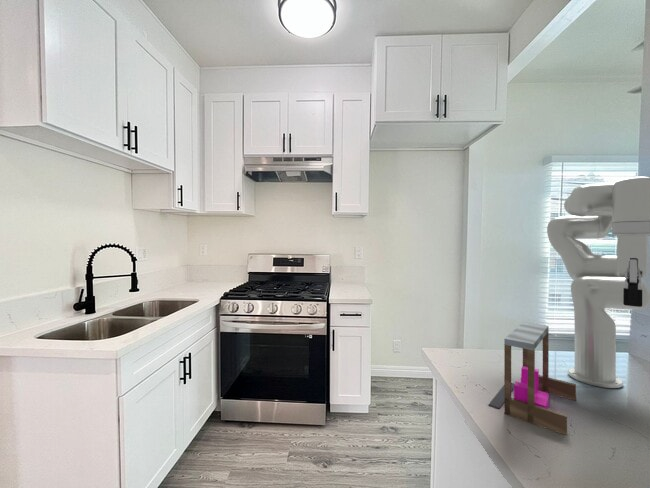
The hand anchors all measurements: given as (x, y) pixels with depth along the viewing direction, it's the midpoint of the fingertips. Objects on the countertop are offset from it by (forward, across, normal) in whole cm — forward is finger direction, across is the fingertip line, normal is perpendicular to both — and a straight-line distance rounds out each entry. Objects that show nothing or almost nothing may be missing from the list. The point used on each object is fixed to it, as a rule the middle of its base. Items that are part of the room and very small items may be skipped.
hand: (632, 305), depth 74 cm
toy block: (+27, +12, -18) cm, 35 cm away
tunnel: (+27, +10, -16) cm, 33 cm away
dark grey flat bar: (+27, +11, -25) cm, 38 cm away
